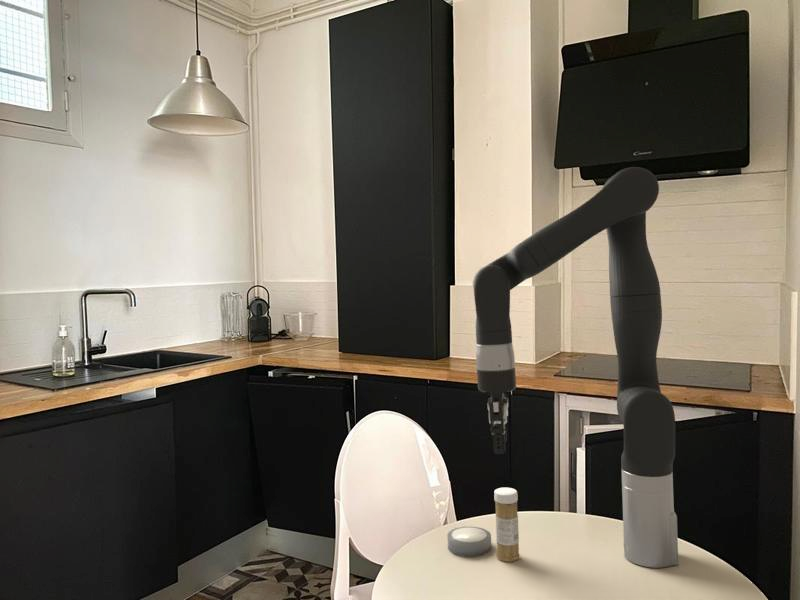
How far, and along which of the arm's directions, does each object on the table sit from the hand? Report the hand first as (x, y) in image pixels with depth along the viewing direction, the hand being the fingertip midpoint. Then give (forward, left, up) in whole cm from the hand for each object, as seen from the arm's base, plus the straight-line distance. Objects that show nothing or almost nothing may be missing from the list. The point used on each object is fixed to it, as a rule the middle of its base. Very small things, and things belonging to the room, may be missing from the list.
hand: (500, 447), depth 121 cm
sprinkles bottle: (-1, 0, -22) cm, 22 cm away
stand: (+7, -4, -22) cm, 23 cm away
